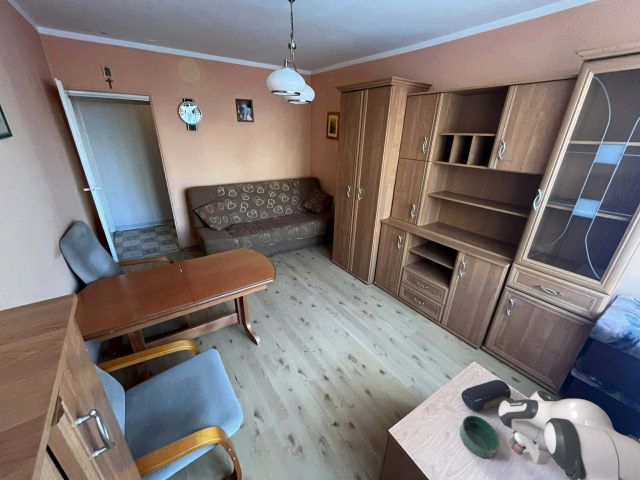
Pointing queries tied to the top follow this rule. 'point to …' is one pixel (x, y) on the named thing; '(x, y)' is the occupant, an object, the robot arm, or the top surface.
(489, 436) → the bowl
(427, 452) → the top surface
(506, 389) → the portable speaker
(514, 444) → the pill bottle
